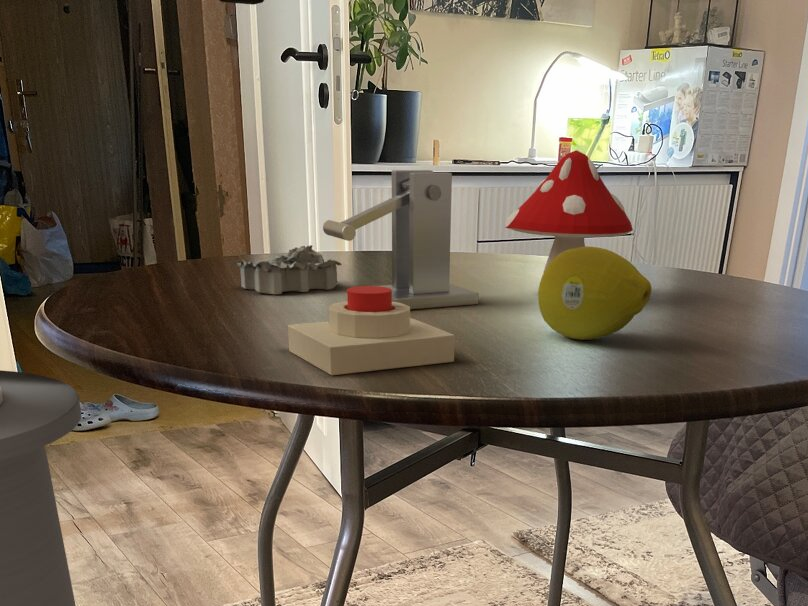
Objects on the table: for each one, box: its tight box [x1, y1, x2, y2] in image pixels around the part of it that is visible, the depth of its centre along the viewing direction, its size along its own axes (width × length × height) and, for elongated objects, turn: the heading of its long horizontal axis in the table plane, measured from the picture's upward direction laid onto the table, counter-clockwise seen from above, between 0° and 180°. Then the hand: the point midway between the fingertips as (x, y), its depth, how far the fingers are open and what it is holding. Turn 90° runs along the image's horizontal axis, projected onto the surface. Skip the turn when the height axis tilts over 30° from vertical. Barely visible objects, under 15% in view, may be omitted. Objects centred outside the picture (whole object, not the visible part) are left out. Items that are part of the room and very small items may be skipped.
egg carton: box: [234, 244, 342, 295], centre depth 104 cm, size 11×8×4 cm
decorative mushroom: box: [504, 149, 634, 274], centre depth 101 cm, size 14×14×15 cm
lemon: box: [537, 245, 652, 341], centre depth 82 cm, size 11×8×8 cm
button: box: [346, 285, 392, 312], centre depth 74 cm, size 4×4×2 cm
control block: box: [287, 300, 456, 376], centre depth 75 cm, size 11×9×4 cm
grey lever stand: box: [379, 169, 480, 311], centre depth 96 cm, size 10×8×13 cm
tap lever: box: [322, 180, 410, 242], centre depth 93 cm, size 12×5×2 cm, turn 120°
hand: (241, 1), depth 68 cm, fingers closed
